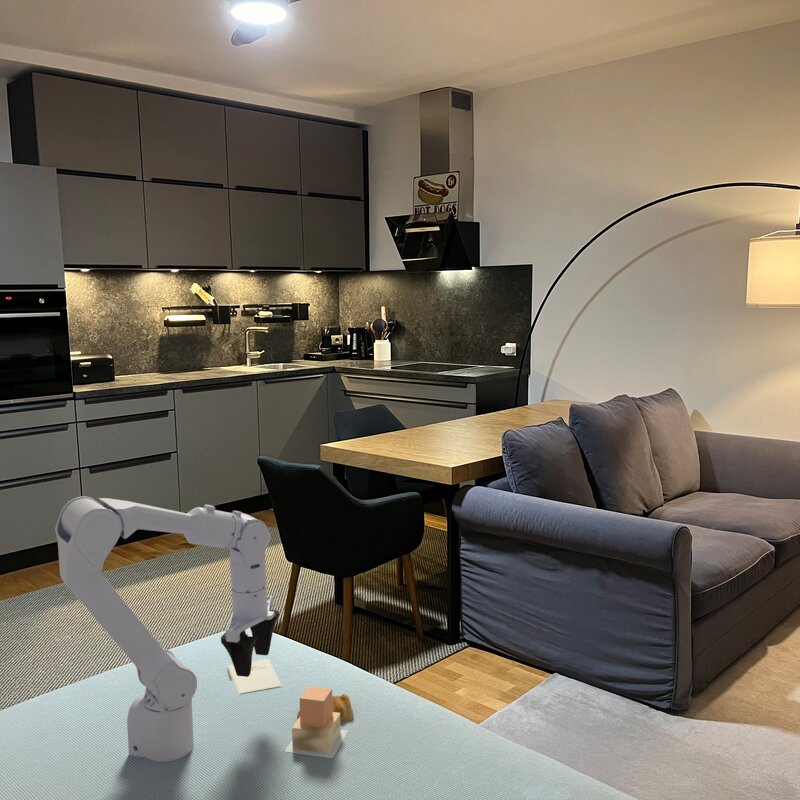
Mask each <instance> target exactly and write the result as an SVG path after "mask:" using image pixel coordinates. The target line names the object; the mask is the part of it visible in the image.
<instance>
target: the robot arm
mask: <svg viewBox="0 0 800 800" xmlns="http://www.w3.org/2000/svg"><path fill="white" fill-rule="evenodd" d="M98 500H100V501H101V503H103V504H101V503H100V502H99V501H98ZM98 500H96V499H95V498H93V497H90V496H77V497H75V498H72V499H70V500H69V501H67V503H65V505H64V506H63V507H62V509H61V511H60V513H59V516H58V519H57V522H56V525H55V528H54V530H55V535H56V540H57V547H58V548H57V550H58V565H59V566H58V567H59V576H60V578H61V580H62V581H63V583H64V584H65V585H66V586H67V588H68V589H69V590H70V591H71V592H72V593H73V595H75V597H76V598H77V599H78V600H79V602H80V603H82V605H83V606H84V607H85V609H86V610H87V611H88V612H89V613H90V614H91V616H93V618H94V619H95V620H96V622H98V623H99V624H100V626H101V628H103V629H104V631H105V632H106V633H107V634H108V635H109V636H110V637H111V639H112V640H113V641H114V642H115V643H116V644H117V646H118V647H119V648H120V649H121V650H122V652H123V653H124V654H125V655H126V656H127V657H128V659H129V660H130V662H131V663H132V664H133V665H134V666H135V668H136V671H137V677H138V680H139V681H140V683H141V684H142V686H144V687H145V692H144V694H141V695H138V696H136V698H134V700H133V701H132V702H131V705H130V706H129V710H128V713H127V719H126V725H127V726H126V729H127V745H128V747H127V748H128V755H129V756H134V757H139V758H140V757H141V758H147V759H149V760H151V761H154V762H159V763H167V762H172V761H175V760H179V759H181V758H183V757H186V756H187V755H188V754H190V753H191V751H192V750H194V749H193V748H194V741H195V740H194V722H193V721H194V720H193V697H194V696H195V695H196V694H195V693H196V692H197V688H198V680H197V676H196V674H195V673H194V672H193V671H192V670H191V669H190V668H187V667H186V666H185V665H184V664H183V663H182V661H180V660H179V659H178V658H177V657H176V656H175V654H174V653H173V652H172V651H170V650H169V649H166V648H163V647H162V645H161V644H160V642H158V640H157V639H156V638H155V637H154V635H153V634H152V633H151V632H150V631H149V630H148V628H147V627H146V626H145V625H144V623H143V622H142V621H141V620H140V619H139V617H138V616H137V615H136V614H135V613H134V611H133V610H132V609H131V608H130V606H128V604H127V603H126V602H125V601H124V599H123V598H122V596H120V594H119V593H118V592H117V591H116V590H115V588H114V587H113V586H112V585H111V584H110V582H109V581H108V580H107V579H106V578H105V576H104V575H103V574H102V570H103V567H104V563H105V561H106V559H107V557H108V556H109V555H110V553H111V551H112V550H113V548H114V547H115V545H116V544H117V543H118V540H119V538H120V537H122V538H123V539H124V540H126V539H128V538H129V537H130V536H131V535H132V534H134V533H135V532H136V531H138V530H145V531H154V532H162V533H163V532H164V533H170V534H172V533H173V534H182V535H183V536H184V538H185V539H186V541H187V542H188V543H189V544H192V545H193V544H194V545H199V546H206V547H214V548H221V549H228V550H229V567H230V584H231V586H230V587H231V604H232V612H231V615H230V620H229V623H228V626H227V628H226V629H225V632H224V634H221V636H220V642H221V645H222V646H223V647H224V648H225V649H226V652H227V653H228V655H229V657H230V659H231V662H232V664H233V665H234V668H235V671H236V674H237V676H244V677H248V676H249V675H250V673H251V665H252V661H253V652H255V655H257V656H258V655H259V656H268V655H269V653H270V648H271V645H272V638H273V633H274V630H275V626H276V625H277V624H276V623H277V622H278V619H279V617H280V611H278V610H276V609H274V610H273V607H274V596H272V595H268V590H267V589H268V588H267V586H268V585H267V570H266V569H267V568H266V550H267V548H268V546H269V545H270V542H271V538H272V533H271V532H269V529H268V526H267V525H266V523H264V521H262V520H261V519H257V518H255V517H254V516H251V515H249V514H248V513H244V512H242V511H238V510H233V511H231V512H229V511H228V512H227V511H222V510H217V509H216V507H215V506H213V505H211V504H204V505H203V507H200V506H197V507H194V508H192V509H191V510H190V511H188V512H181V511H176V510H173V509H167V508H163V507H157V506H154V505H153V506H152V505H149V504H143V503H139V502H133V501H129V500H122V499H114V498H109V497H108V498H107V497H98ZM249 628H250V633H251V636H250V635H249V636H248V633H246V632H247V630H248V629H249Z"/></svg>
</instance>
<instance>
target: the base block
mask: <svg viewBox="0 0 800 800" xmlns="http://www.w3.org/2000/svg"><path fill="white" fill-rule="evenodd" d="M341 730H342V728H341V722H340V713H337V712H333V716H332V717H331V719H330V720H329V722H328V723H327V725H326V727H325V728H318V727H310V726H303V725H300V717H299V719H297V720H296V721H295V723H294V724H293V726H292V727H291V735H292V737H291V741H292V745H293V749H298V750H306V751H313V752H321V753H329V752H330V751H331V749H332V747H333V746H334V744H335V742H336V740H337V739H338V737H339V735H340V733H341Z"/></svg>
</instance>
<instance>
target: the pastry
mask: <svg viewBox="0 0 800 800" xmlns="http://www.w3.org/2000/svg"><path fill="white" fill-rule="evenodd" d="M332 709H333V712H337V713H340V723H341V722H347V721H348V722H349V721H353V720H354V719H355V718H354V712H353V711H354V710H353V708H352V704H351V700H350V696H349V695H347V694H346V693H342V694H341V695H332ZM296 716H297V717H296V718H297V720H298V719H299V717H300V710H298V713H297V715H296Z"/></svg>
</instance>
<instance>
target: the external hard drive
mask: <svg viewBox="0 0 800 800" xmlns="http://www.w3.org/2000/svg"><path fill="white" fill-rule="evenodd" d="M227 672H228V675H229V678H230V681H232V682H233V685H234V689H235V690H236V692H237V695H244V694H248V693H253V692H254V693H255V692H260V691H265V690H266V691H267V690H272V689H277V688H282V687H283V685H282V683H281V681H280V679H279V678H278V675H277V673H276V670H275V669H274V666H273V664H272V662H271V660H270V659H269V658H263V659H258V660H257V659H256V660H252V665H251V673H250V675H249V676H248V677H244V676H237V674H236V671H235V668H234V665H233V663H232V664H229V665H227Z"/></svg>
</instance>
